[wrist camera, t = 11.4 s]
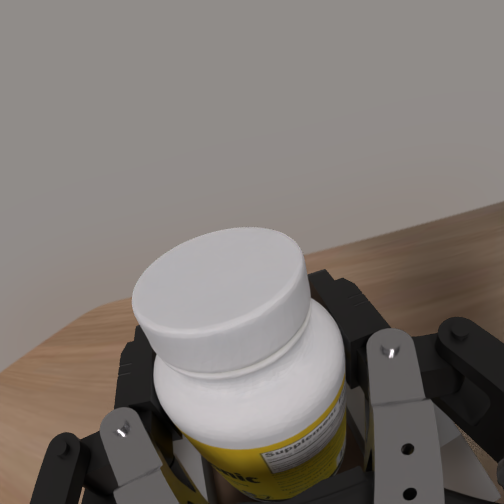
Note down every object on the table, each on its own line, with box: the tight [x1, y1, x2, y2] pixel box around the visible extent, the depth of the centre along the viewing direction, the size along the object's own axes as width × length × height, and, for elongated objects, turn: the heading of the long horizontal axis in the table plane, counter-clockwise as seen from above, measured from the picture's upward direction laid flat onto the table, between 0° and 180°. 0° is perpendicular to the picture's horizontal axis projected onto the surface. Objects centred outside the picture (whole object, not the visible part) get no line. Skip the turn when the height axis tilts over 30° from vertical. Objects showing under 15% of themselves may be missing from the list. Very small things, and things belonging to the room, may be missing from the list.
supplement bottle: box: [132, 227, 346, 502], centre depth 9 cm, size 5×5×10 cm
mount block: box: [173, 382, 501, 504], centre depth 12 cm, size 14×14×3 cm
